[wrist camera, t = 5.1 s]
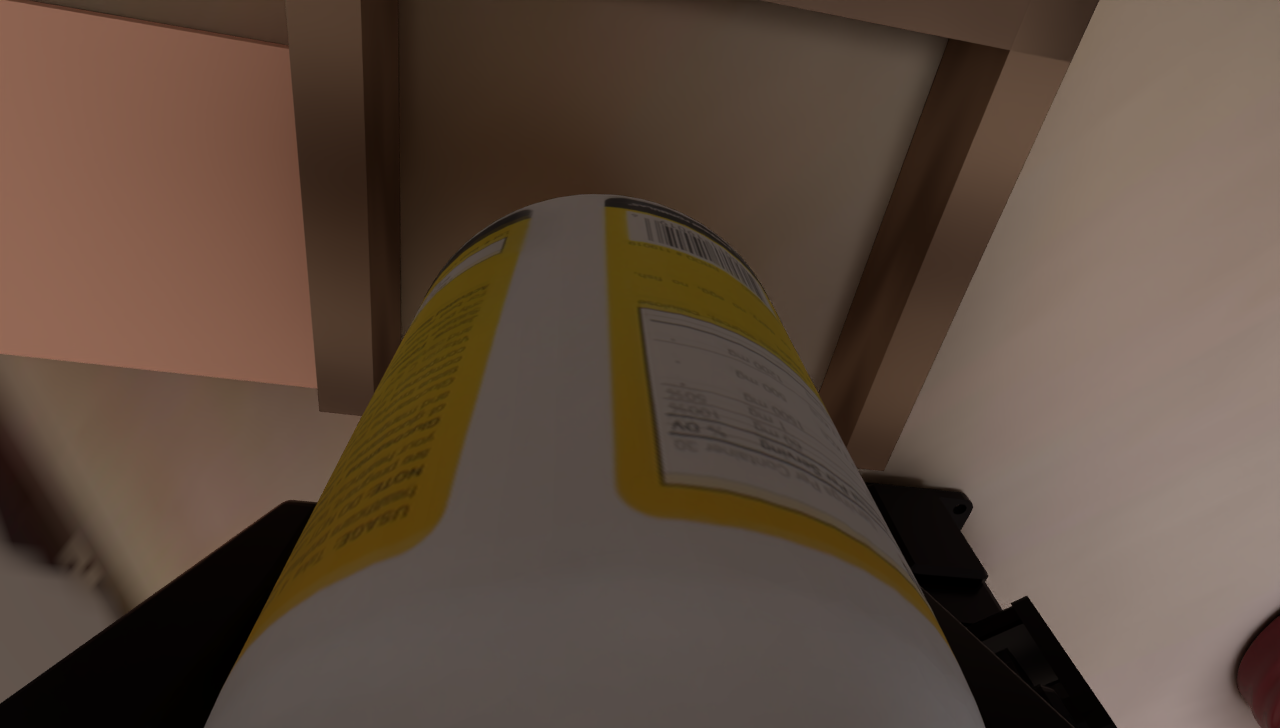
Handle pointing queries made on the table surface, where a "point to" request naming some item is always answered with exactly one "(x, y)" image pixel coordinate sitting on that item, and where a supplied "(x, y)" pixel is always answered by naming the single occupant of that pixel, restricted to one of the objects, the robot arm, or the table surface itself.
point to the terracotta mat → (150, 198)
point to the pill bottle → (596, 513)
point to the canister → (1262, 676)
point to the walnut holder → (896, 269)
